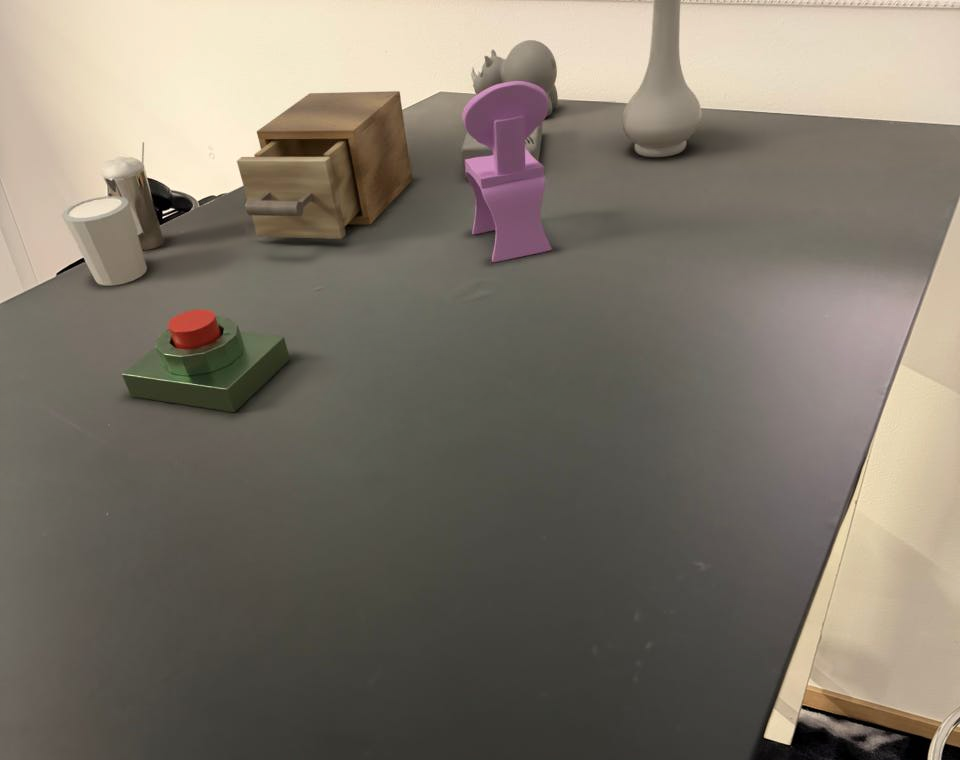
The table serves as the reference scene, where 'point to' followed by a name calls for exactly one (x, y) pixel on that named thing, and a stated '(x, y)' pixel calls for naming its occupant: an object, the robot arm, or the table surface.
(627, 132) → the flower vase
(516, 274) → the table surface
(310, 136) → the cabinet
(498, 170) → the toy chair
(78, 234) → the white cup
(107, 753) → the table surface
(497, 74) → the toy rhinoceros
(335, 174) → the drawer
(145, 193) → the milkshake
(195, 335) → the button
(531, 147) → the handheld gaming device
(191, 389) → the button block
